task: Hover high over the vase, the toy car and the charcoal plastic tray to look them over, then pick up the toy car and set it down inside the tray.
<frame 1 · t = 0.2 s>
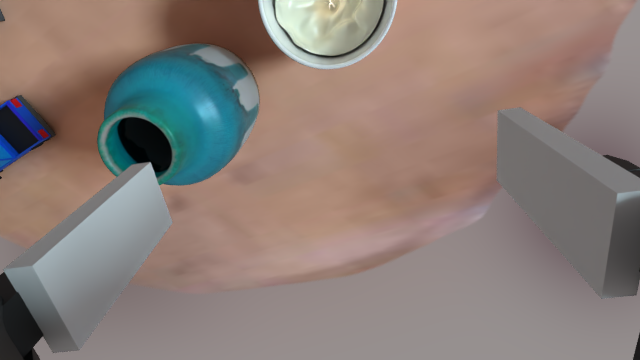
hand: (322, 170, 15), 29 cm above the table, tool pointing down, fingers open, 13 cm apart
vase: (219, 89, 43), on the table
toy car: (9, 137, 47), on the table
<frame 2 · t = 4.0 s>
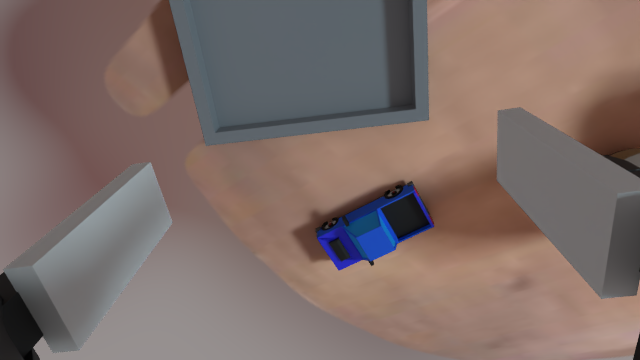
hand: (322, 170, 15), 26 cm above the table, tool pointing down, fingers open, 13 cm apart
vase: (611, 181, 43), on the table
toy car: (372, 218, 46), on the table
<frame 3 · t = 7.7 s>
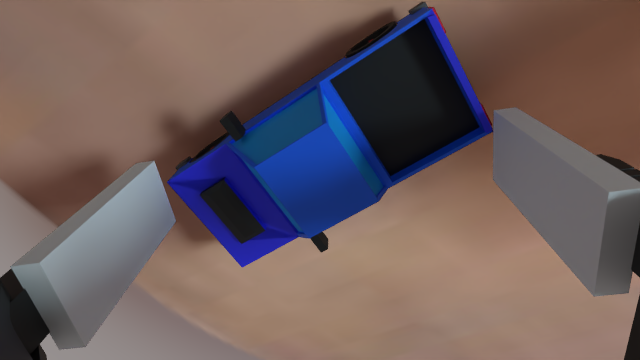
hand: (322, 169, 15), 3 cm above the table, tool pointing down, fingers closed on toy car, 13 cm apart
toy car: (324, 132, 18), on the table, touching gripper
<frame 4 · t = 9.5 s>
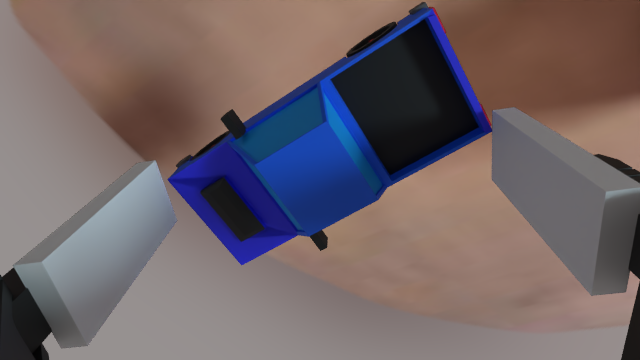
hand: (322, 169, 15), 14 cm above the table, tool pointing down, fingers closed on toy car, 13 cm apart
toy car: (324, 131, 18), point 11 cm above the table, touching gripper
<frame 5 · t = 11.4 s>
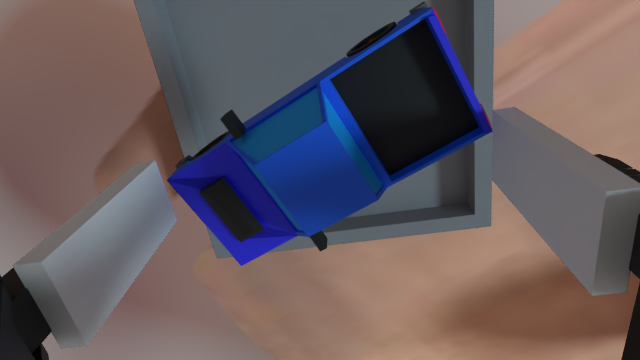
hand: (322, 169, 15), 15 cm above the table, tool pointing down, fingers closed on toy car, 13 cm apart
toy car: (324, 131, 18), point 12 cm above the table, touching gripper
tray: (326, 86, 29), on the table
when the fingers open (5 cm above the table, at t = 14.1 s): toy car stays where it is, resting on tray.
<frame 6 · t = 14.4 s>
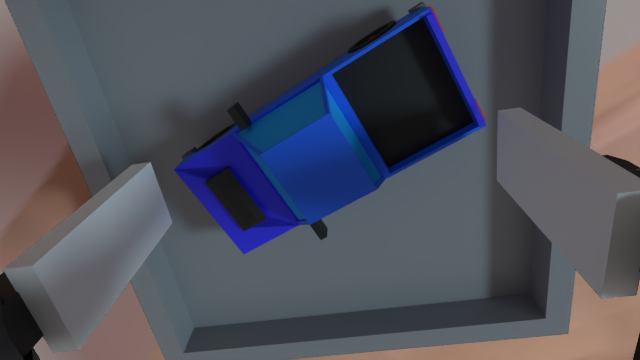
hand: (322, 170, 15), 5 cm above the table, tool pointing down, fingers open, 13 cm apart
toy car: (325, 125, 19), resting on tray
tray: (325, 132, 19), on the table
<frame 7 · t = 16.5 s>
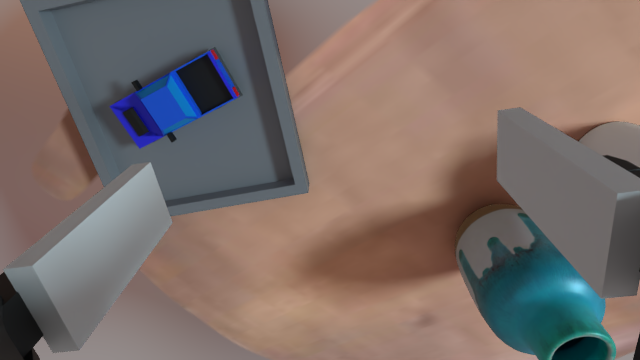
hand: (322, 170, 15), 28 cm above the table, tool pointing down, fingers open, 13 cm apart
vase: (488, 229, 48), on the table
toy car: (183, 95, 42), resting on tray
tray: (185, 99, 42), on the table
candle holder: (605, 156, 44), on the table
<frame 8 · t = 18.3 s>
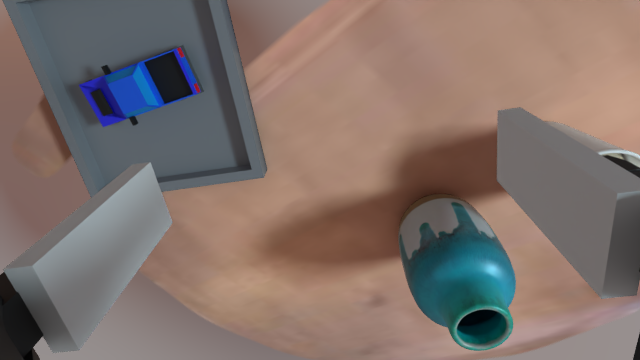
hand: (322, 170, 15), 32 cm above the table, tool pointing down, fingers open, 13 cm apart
vase: (433, 217, 52), on the table
toy car: (150, 83, 46), resting on tray
tray: (152, 87, 46), on the table
candle holder: (539, 153, 48), on the table
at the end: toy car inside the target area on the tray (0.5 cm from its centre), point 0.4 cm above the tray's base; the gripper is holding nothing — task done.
